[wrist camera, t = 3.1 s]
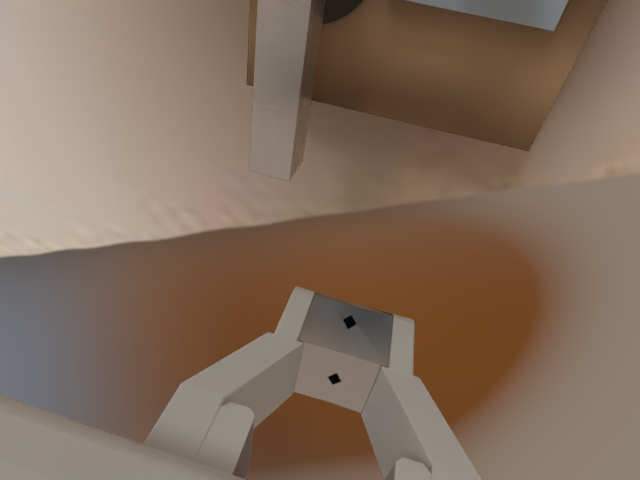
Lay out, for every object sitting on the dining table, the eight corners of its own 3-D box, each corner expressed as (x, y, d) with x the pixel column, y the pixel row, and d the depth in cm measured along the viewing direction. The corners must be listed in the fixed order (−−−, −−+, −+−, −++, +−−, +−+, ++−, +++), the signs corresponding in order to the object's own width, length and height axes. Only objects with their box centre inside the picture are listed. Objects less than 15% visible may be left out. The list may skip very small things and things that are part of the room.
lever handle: (276, -118, 13) (241, -138, 10) (361, -102, 13) (346, -120, 10) (259, 144, 19) (234, 169, 16) (317, 159, 18) (301, 186, 16)
